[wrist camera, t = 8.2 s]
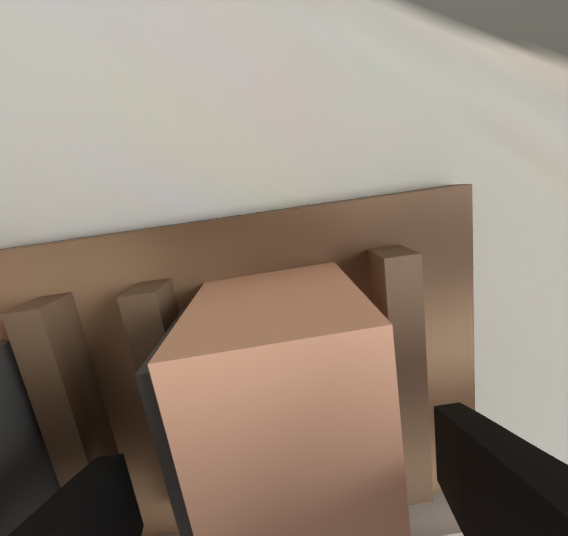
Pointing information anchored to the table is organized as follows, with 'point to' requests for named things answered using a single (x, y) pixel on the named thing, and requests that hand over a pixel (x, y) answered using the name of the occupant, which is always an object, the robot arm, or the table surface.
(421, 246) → the walnut rack
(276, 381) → the peach rectangular block
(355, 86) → the table surface
